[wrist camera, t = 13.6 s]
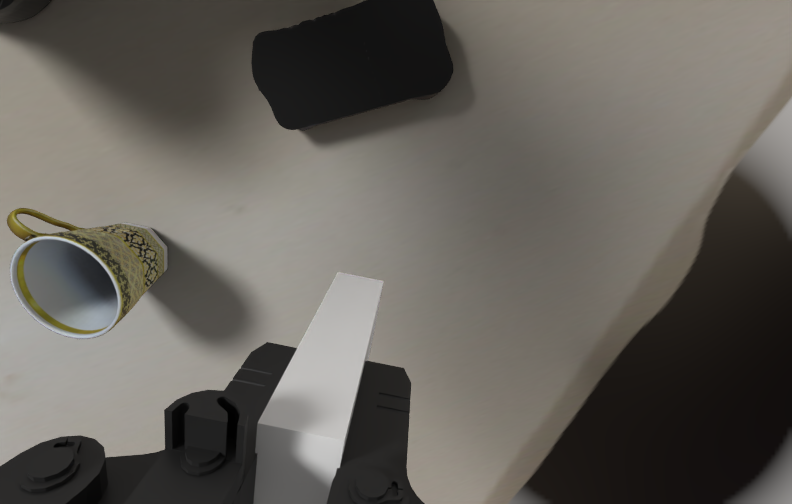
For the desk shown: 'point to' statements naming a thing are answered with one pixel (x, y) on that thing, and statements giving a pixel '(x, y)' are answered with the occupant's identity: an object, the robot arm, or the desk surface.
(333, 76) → the black sponge
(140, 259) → the ceramic cup
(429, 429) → the desk surface
